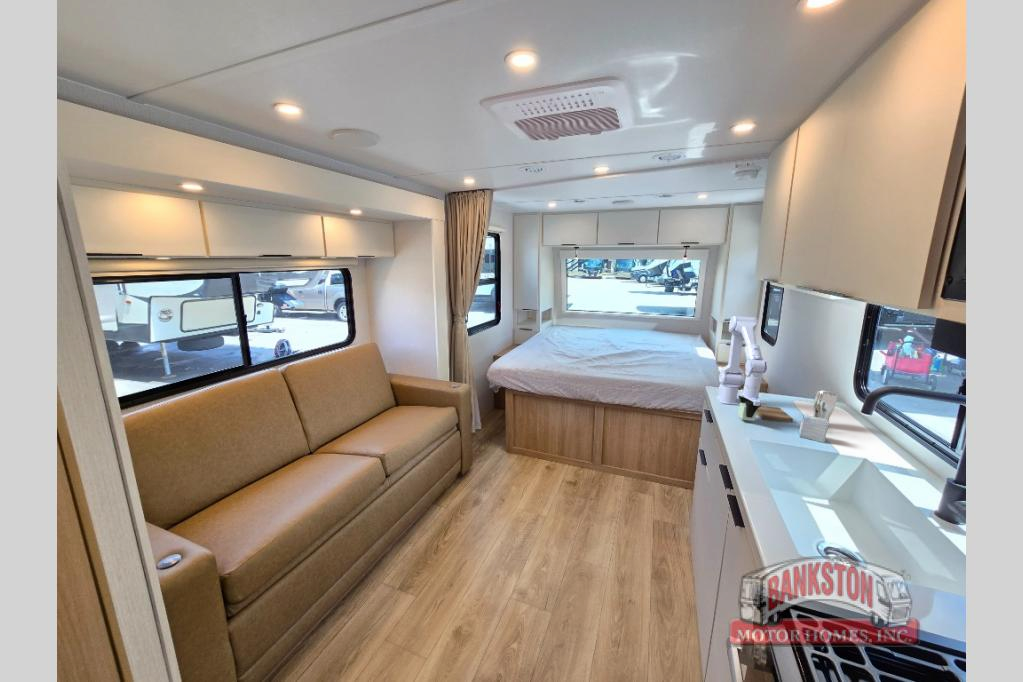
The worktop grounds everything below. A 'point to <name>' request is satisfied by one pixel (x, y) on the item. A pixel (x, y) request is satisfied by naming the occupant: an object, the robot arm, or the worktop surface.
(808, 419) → the medicine box
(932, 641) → the worktop surface
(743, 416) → the sage block
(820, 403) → the beer glass
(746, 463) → the worktop surface
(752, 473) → the worktop surface
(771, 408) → the walnut base
